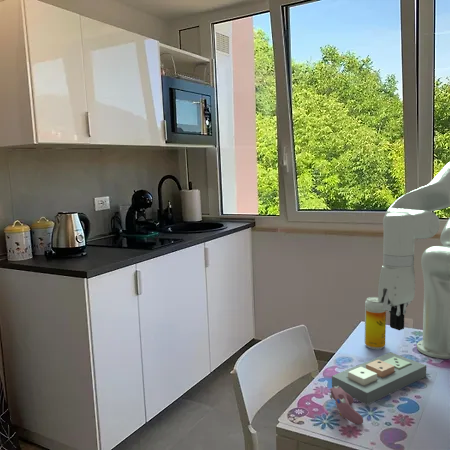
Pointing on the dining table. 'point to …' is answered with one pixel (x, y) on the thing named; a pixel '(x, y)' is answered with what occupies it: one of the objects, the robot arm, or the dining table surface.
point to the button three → (397, 363)
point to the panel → (380, 380)
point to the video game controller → (345, 405)
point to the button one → (362, 376)
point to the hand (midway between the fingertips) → (396, 328)
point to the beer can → (374, 323)
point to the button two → (380, 368)
